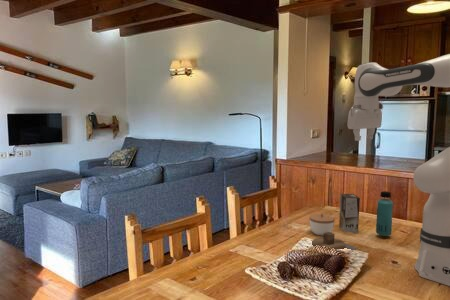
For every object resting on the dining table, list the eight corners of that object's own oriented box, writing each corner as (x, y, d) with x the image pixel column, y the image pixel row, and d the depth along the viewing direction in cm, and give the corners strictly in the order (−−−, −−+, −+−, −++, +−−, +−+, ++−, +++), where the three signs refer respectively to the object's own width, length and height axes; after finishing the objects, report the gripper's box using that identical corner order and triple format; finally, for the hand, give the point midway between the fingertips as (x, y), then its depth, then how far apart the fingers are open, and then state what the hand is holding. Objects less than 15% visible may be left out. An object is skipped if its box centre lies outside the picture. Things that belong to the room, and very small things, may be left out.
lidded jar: (336, 233, 170) (337, 212, 169) (329, 240, 161) (330, 218, 160) (313, 229, 176) (314, 209, 175) (305, 235, 167) (306, 214, 166)
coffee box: (358, 233, 170) (360, 198, 168) (344, 233, 170) (345, 197, 168) (352, 227, 179) (353, 193, 177) (338, 226, 179) (339, 193, 177)
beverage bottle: (388, 234, 169) (391, 190, 166) (393, 239, 162) (396, 193, 160) (373, 234, 169) (375, 189, 167) (377, 239, 163) (380, 193, 160)
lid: (352, 248, 151) (353, 235, 150) (328, 254, 144) (329, 241, 143) (328, 238, 162) (328, 226, 161) (305, 243, 155) (305, 231, 155)
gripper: (359, 104, 141) (357, 142, 143) (385, 105, 155) (383, 139, 156) (344, 104, 146) (342, 140, 147) (370, 105, 159) (369, 137, 161)
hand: (363, 139), depth 152 cm, fingers open, 8 cm apart
